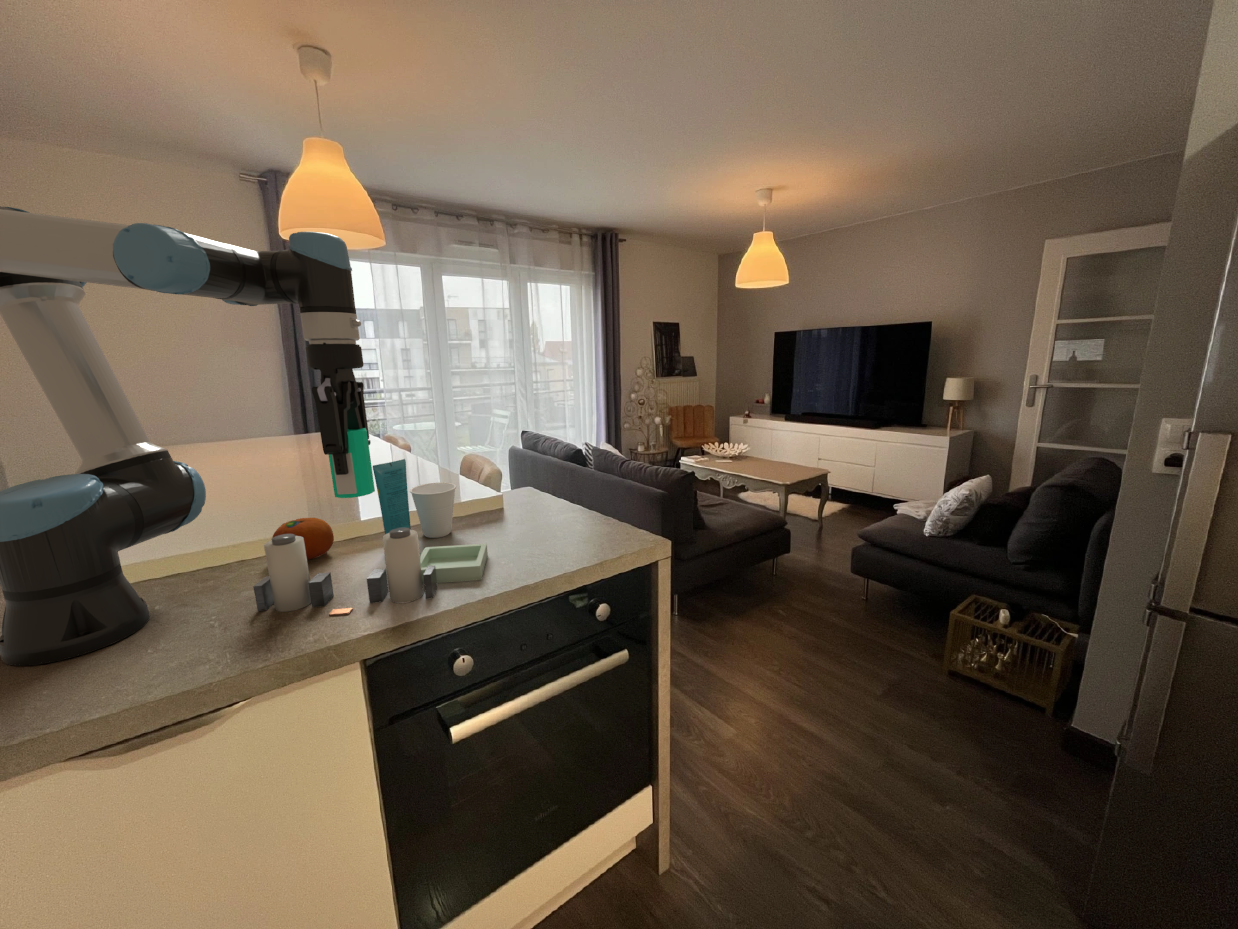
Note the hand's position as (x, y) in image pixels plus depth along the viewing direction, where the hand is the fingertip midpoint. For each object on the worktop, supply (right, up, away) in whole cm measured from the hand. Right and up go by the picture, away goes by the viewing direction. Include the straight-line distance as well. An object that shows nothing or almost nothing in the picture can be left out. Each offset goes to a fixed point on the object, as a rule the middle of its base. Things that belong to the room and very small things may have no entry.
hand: (354, 488), depth 82 cm
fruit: (-21, -15, +20) cm, 33 cm away
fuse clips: (-2, -19, +1) cm, 20 cm away
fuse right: (+7, -19, +4) cm, 20 cm away
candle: (0, -1, 0) cm, 1 cm away
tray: (+11, -16, +14) cm, 24 cm away
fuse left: (-11, -19, +2) cm, 22 cm away
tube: (-3, -14, +24) cm, 28 cm away
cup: (+1, -12, +33) cm, 36 cm away
